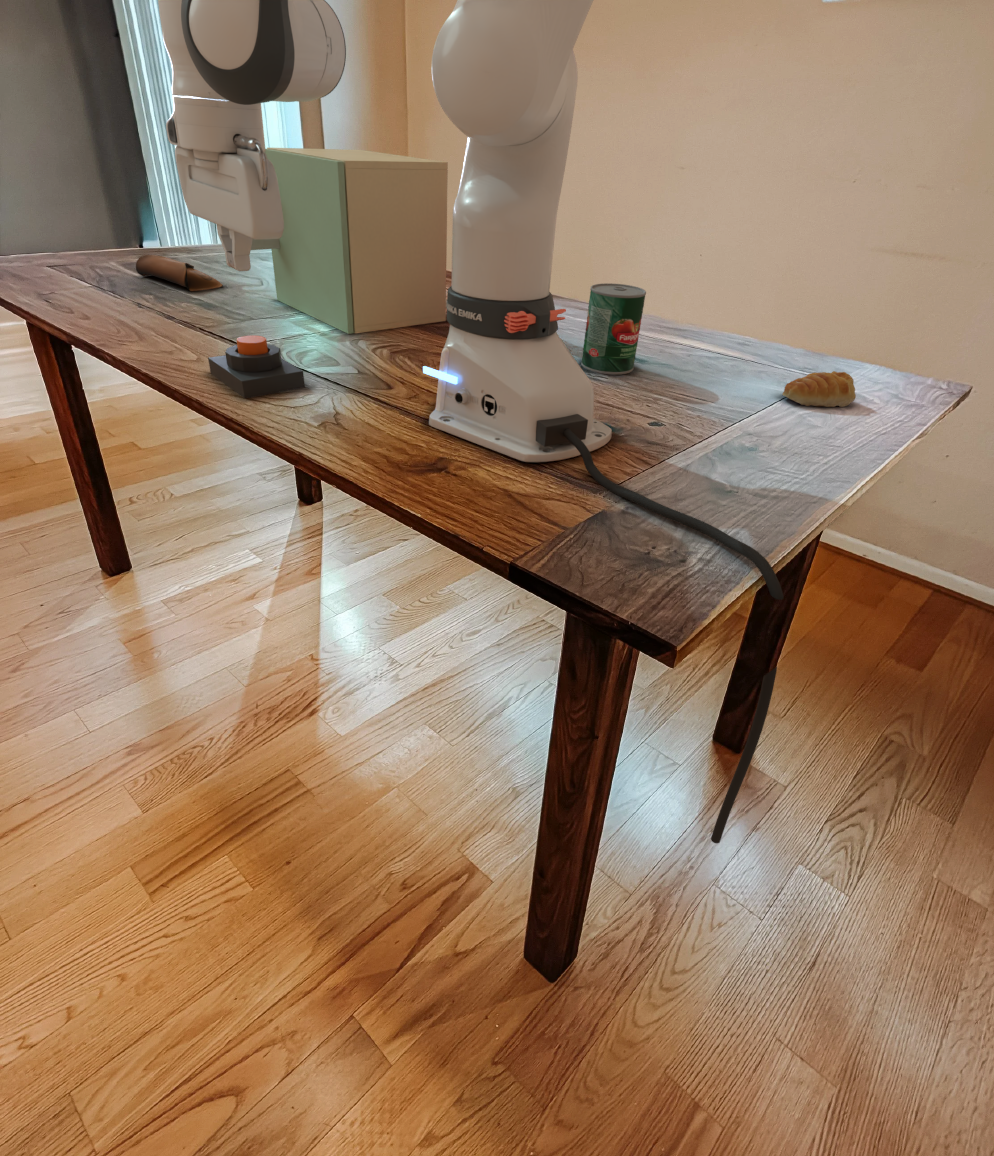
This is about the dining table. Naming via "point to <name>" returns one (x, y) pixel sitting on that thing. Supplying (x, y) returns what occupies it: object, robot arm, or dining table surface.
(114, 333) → the dining table surface
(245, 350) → the button
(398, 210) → the cupboard
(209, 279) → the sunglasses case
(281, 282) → the cupboard door
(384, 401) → the dining table surface
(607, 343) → the canned tomato
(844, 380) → the pastry
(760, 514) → the dining table surface
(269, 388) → the control block
